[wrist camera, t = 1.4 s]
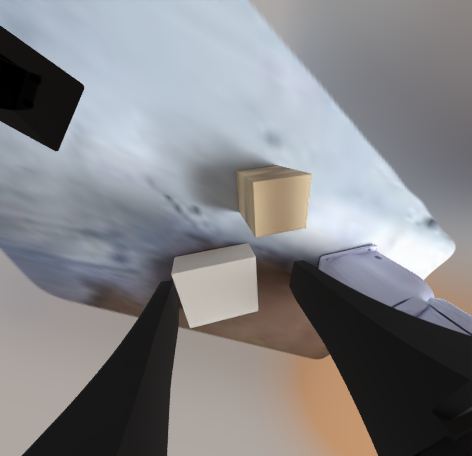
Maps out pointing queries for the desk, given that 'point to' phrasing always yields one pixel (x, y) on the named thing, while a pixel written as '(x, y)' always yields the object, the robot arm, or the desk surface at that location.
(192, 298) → the base
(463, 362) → the robot arm
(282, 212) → the oak block
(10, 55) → the black mounting plate
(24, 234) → the desk surface
